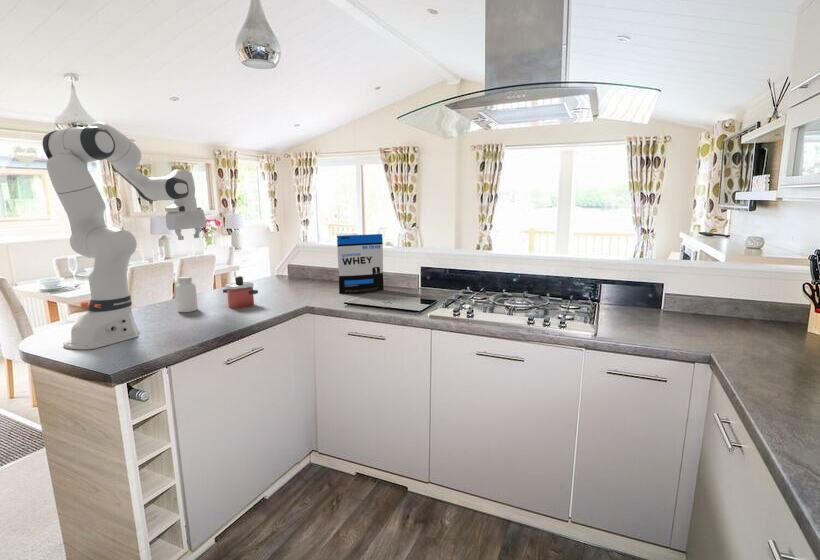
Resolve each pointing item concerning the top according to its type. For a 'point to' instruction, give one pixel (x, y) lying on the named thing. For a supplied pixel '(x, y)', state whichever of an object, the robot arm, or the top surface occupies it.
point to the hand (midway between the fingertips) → (189, 239)
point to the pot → (240, 297)
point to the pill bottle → (186, 295)
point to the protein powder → (360, 263)
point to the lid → (239, 284)
